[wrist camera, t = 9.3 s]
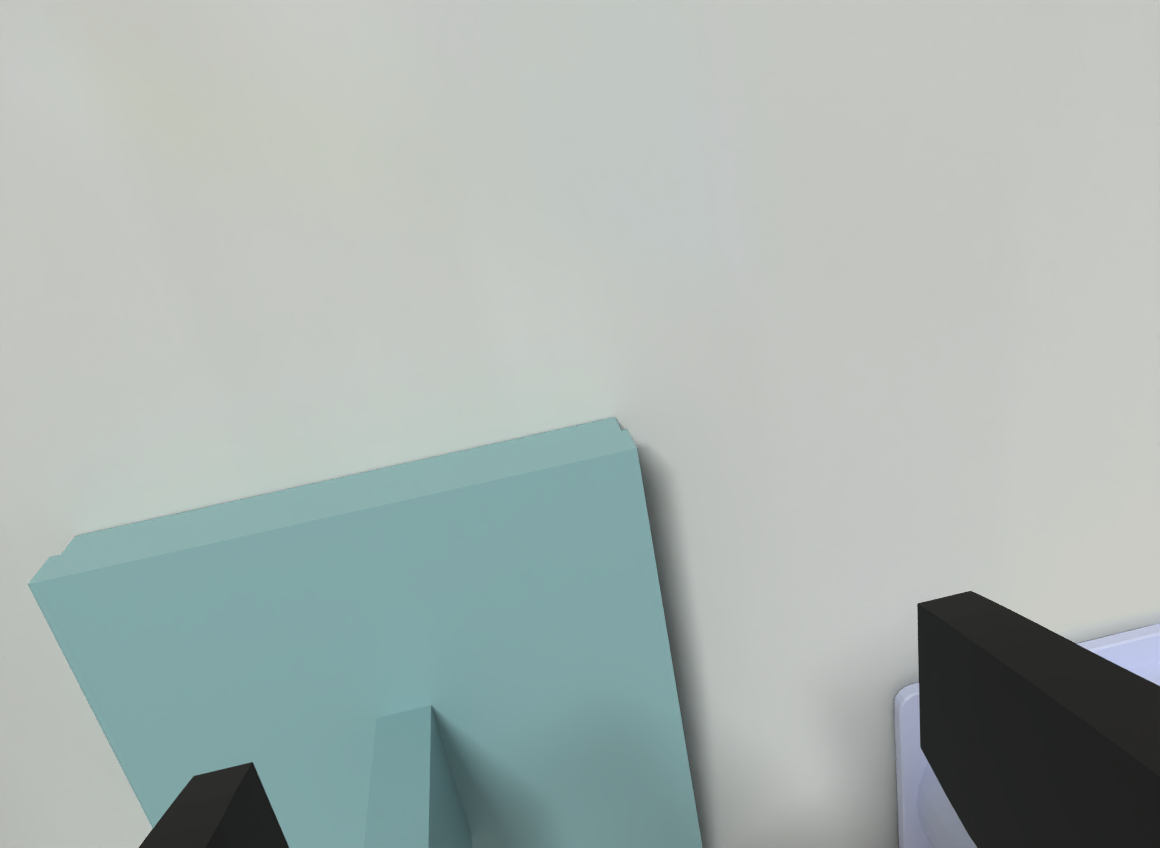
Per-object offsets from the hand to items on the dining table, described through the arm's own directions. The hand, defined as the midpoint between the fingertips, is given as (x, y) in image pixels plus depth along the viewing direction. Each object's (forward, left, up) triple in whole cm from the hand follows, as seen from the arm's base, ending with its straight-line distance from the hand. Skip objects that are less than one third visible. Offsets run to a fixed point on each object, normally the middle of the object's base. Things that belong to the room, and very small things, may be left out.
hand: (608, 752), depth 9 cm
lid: (+4, +8, -10) cm, 13 cm away
